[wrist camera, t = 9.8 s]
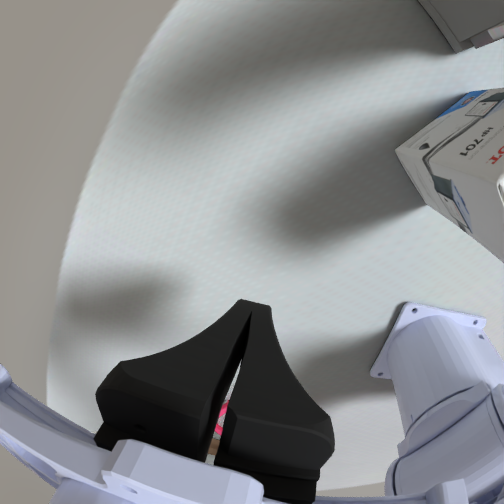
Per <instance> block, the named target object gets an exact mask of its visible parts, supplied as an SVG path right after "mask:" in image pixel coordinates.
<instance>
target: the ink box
mask: <svg viewBox="0 0 504 504" xmlns="http://www.w3.org/2000/svg"><path fill="white" fill-rule="evenodd" d="M395 152H396V154H397V156H398V158H399V160H400V162H401V164H402V166H403V167H404V169H405V171H406V173H407V174H408V176H409V177H410V179H411V181H412V182H413V184H414V186H415V187H416V189H417V190H418V192H419V194H420V195H421V197H422V198H423V200H424V202H425V203H426V204H427V205H428V206H430V207H431V208H433V209H434V210H436V211H437V212H439V213H440V214H442V215H443V216H444V217H446V218H447V219H449V220H450V221H452V222H453V223H454V224H456V225H457V226H458V227H460V228H461V229H462V230H463V231H464V232H466V233H467V234H468V235H470V236H471V237H473V238H474V239H475V240H476V241H477V242H479V243H480V244H481V245H483V246H484V247H485V248H486V249H487V250H489V251H490V252H491V253H492V254H493V255H495V256H496V257H497V258H498V259H500V260H501V261H502V262H503V263H504V88H498V89H489V90H481V91H473V92H469V93H468V94H467V95H465V96H464V97H463V98H462V99H460V100H459V101H458V102H457V103H455V104H454V105H453V106H451V107H450V108H449V109H448V110H446V111H445V112H444V113H442V114H441V115H440V116H439V117H437V118H436V119H435V120H434V121H432V122H431V123H430V124H428V125H427V126H426V127H424V128H423V129H421V130H420V131H419V132H418V133H416V134H415V135H414V136H412V137H411V138H410V139H408V140H407V141H406V142H404V143H403V144H402V145H400V146H399V147H398V148H396V149H395Z"/></svg>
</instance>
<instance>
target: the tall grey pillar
mask: <svg viewBox="0 0 504 504" xmlns="http://www.w3.org/2000/svg"><path fill="white" fill-rule="evenodd" d="M418 1H419V2H420V4H421V5H422V6H423V7H424V9H425V10H426V11H427V13H428V14H429V15H430V16H431V18H432V19H433V20H434V22H435V23H436V25H437V26H438V27H439V29H440V30H441V32H442V33H443V35H444V36H445V38H446V39H447V41H448V42H449V44H450V45H451V47H452V48H453V50H454V51H455V53H459V52H461V51H463V50H466V49H468V48H471V47H473V46H474V47H475V48H476V49H477V48H479V47H482V46H484V45H487V44H489V43H492V42H494V41H497V40H500V39H502V38H504V0H418Z"/></svg>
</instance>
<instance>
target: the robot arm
mask: <svg viewBox="0 0 504 504" xmlns="http://www.w3.org/2000/svg"><path fill="white" fill-rule="evenodd" d="M414 308H416V309H415V310H414V311H412V310H413V309H414ZM475 320H476V321H475ZM474 321H475V322H474ZM486 322H487V321H486V319H485V318H484V317H481V316H476V315H471V314H466V313H461V312H456V311H451V310H446V309H441V308H436V307H431V306H427V305H422V304H417V303H412V302H408V303H406V304H404V306H403V308H402V310H401V312H400V314H399V316H398V318H397V321H396V323H395V325H394V327H393V329H392V331H391V333H390V335H389V337H388V339H387V341H386V343H385V344H384V346H383V348H382V350H381V352H380V354H379V356H378V358H377V359H376V361H375V363H374V365H373V367H372V368H371V370H370V375H371V377H376V378H384V379H392V381H393V385H394V389H395V393H396V398H397V402H398V406H399V410H400V415H401V420H402V424H403V429H404V434H405V439H404V440H403V441H402V442H401V443H399V444H398V445H397V447H398V453H399V458H397V459H396V460H394V461H393V462H392V463H391V465H390V466H389V468H388V471H387V473H386V478H385V496H382V497H325V496H316V482H317V481H318V480H319V478H320V468H321V467H322V466H323V465H324V464H325V463H326V462H327V460H328V459H329V458H330V457H331V456H332V454H333V452H334V447H335V439H334V432H333V427H332V422H331V418H330V416H329V415H328V414H327V413H326V412H325V411H324V410H323V409H321V408H320V407H319V406H318V405H317V404H316V403H315V402H314V401H313V400H312V398H311V397H310V396H309V395H308V394H307V393H306V391H305V390H304V388H303V387H302V386H301V384H300V383H299V381H298V380H297V379H296V377H295V375H294V374H293V372H292V370H291V369H290V367H289V365H288V363H287V361H286V359H285V357H284V354H283V352H282V350H281V347H280V345H279V342H278V339H277V336H276V332H275V329H274V325H273V320H272V312H271V307H270V306H268V305H264V304H260V303H256V302H251V301H247V300H243V299H240V300H238V301H237V302H236V303H235V304H234V306H233V307H232V308H231V309H230V310H228V311H227V312H226V313H225V314H224V315H223V316H222V317H221V318H219V319H218V320H217V321H216V322H215V323H213V324H212V325H211V326H209V327H208V328H206V329H205V330H204V331H202V332H201V333H199V334H198V335H196V336H194V337H193V338H191V339H189V340H187V341H185V342H183V343H181V344H179V345H177V346H175V347H173V348H170V349H168V350H165V351H162V352H159V353H156V354H153V355H150V356H146V357H142V358H137V359H132V360H126V361H120V362H119V363H118V365H117V366H116V367H115V368H113V369H112V371H111V372H110V373H109V374H108V375H107V377H106V378H105V379H104V381H103V382H102V383H101V385H100V386H99V387H98V389H97V391H96V394H95V395H96V401H97V404H98V407H99V410H100V413H101V415H102V418H103V421H104V422H103V424H102V425H101V427H100V429H99V430H98V432H97V433H96V434H94V433H92V432H90V431H88V430H86V429H85V428H83V427H81V426H79V425H77V424H75V423H74V422H72V421H70V420H68V419H67V418H65V417H63V416H62V415H60V414H58V413H57V412H55V411H54V410H52V409H50V408H49V407H47V406H46V405H44V404H43V403H41V402H40V401H38V400H37V399H35V398H34V397H32V396H31V395H29V394H28V393H27V392H25V391H24V390H23V389H21V388H20V387H18V386H17V385H16V384H14V383H13V382H12V379H11V376H10V374H9V373H8V371H7V370H6V368H5V367H4V366H3V365H2V364H0V444H1V445H2V446H3V447H4V448H5V449H6V450H8V451H9V452H10V453H11V454H12V455H13V456H14V457H16V458H17V459H18V460H19V461H20V462H22V463H23V464H24V465H25V466H26V467H28V468H29V469H30V470H31V471H33V472H34V473H35V474H37V475H38V476H39V477H41V478H42V479H43V480H44V481H46V482H47V483H49V484H50V485H52V486H53V487H54V488H56V489H57V490H56V492H55V494H54V495H53V497H52V499H51V500H50V502H49V504H504V361H503V359H502V358H501V356H500V355H499V353H498V352H497V350H496V349H495V347H494V346H493V344H492V343H491V341H490V340H489V338H488V337H487V335H486V334H485V332H484V331H483V328H484V326H485V325H486ZM241 359H242V360H241ZM240 362H241V365H240V371H239V374H238V377H237V380H236V383H235V386H234V389H233V392H232V394H231V397H230V400H229V403H228V405H227V410H226V415H225V419H224V424H223V429H222V434H221V438H220V443H219V447H218V450H217V453H216V456H215V460H214V465H211V464H207V463H205V461H206V458H207V454H208V451H209V448H210V444H211V441H212V438H213V434H214V431H215V428H216V425H217V421H218V418H219V415H220V412H221V408H222V405H223V403H224V400H225V397H226V395H227V393H228V390H229V388H230V385H231V383H232V381H233V378H234V376H235V374H236V371H237V369H238V366H239V364H240ZM380 372H382V373H380Z"/></svg>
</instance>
